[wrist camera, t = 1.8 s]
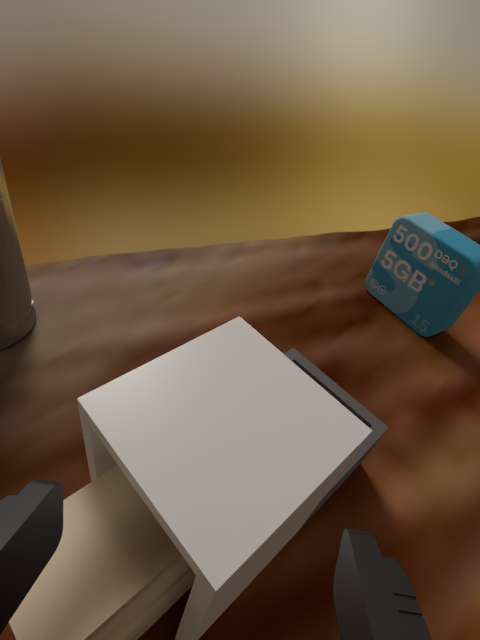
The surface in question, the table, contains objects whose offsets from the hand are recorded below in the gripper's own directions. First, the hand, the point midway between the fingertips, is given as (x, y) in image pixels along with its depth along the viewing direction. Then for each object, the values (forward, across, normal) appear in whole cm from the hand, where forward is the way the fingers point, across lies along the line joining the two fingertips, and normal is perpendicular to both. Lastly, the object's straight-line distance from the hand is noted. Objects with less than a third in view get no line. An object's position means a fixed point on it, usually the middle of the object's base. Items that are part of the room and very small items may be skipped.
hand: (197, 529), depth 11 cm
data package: (+46, -20, +2) cm, 50 cm away
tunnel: (+16, +2, +14) cm, 21 cm away
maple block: (+12, +5, +16) cm, 20 cm away
